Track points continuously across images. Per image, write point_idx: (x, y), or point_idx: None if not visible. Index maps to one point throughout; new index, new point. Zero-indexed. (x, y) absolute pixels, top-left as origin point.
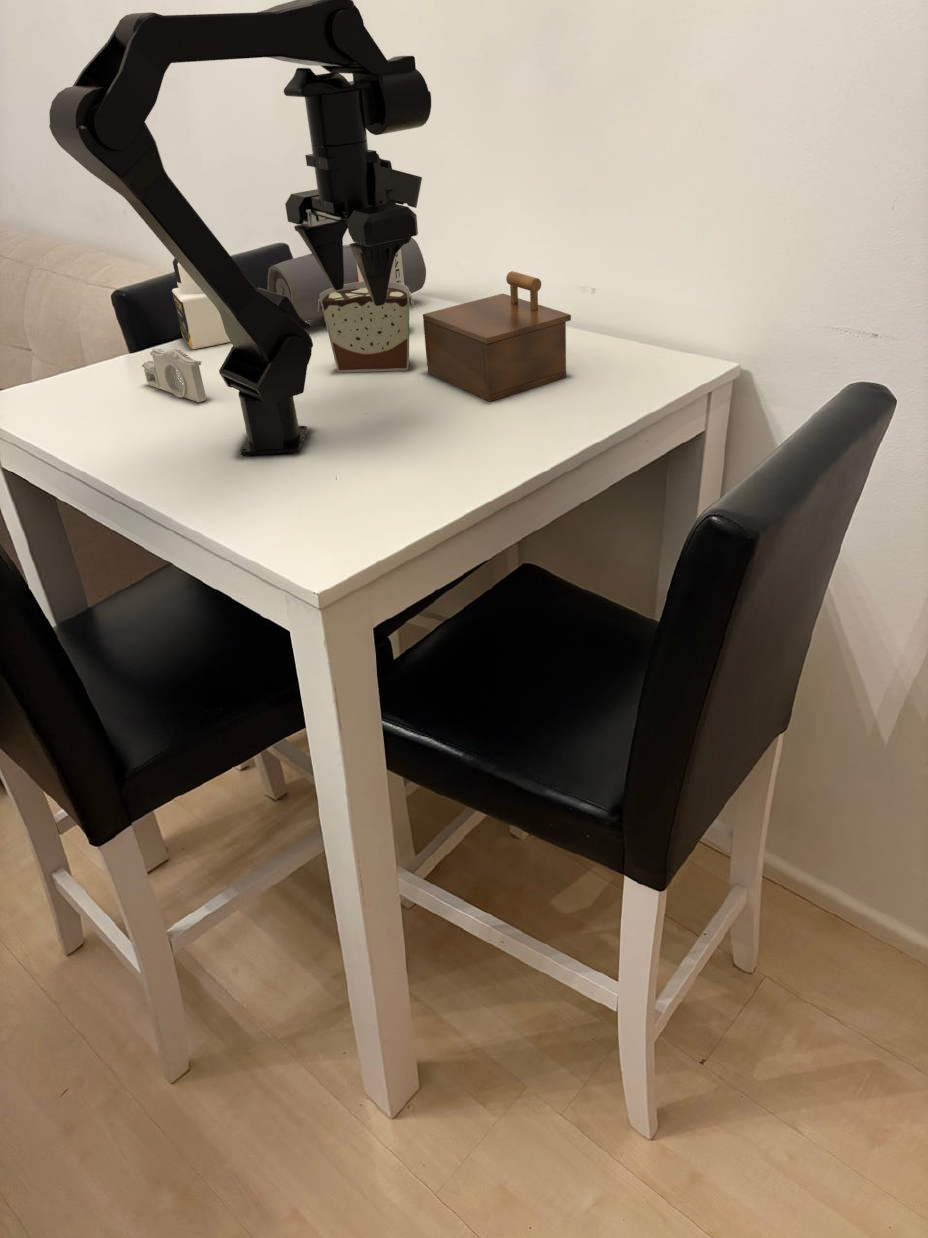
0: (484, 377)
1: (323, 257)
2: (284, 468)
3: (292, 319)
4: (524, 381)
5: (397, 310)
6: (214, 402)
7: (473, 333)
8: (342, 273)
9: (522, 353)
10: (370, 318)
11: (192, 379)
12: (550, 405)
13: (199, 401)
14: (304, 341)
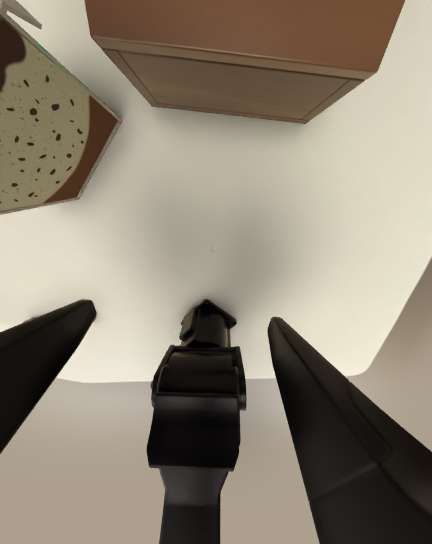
0: (310, 110)
1: (19, 409)
2: (248, 333)
3: (239, 426)
4: None
5: (30, 77)
6: (100, 310)
7: (322, 65)
8: (61, 322)
9: None
10: (27, 143)
11: None
12: (400, 57)
13: (95, 318)
14: (245, 389)
